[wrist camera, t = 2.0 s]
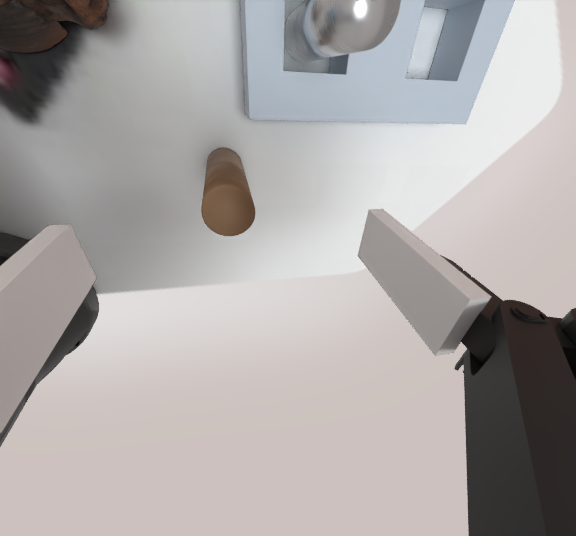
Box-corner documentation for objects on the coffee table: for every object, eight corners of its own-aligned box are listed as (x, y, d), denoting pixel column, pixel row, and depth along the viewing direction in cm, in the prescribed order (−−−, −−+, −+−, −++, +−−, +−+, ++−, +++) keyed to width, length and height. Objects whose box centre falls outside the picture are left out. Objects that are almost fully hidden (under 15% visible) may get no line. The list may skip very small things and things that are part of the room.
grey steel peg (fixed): (283, 60, 19) (329, 48, 11) (284, 3, 17) (340, -58, 10) (321, 63, 20) (390, 53, 12) (326, 8, 18) (410, -46, 10)
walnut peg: (209, 183, 23) (205, 237, 15) (204, 147, 21) (197, 187, 14) (243, 182, 24) (256, 234, 16) (241, 147, 22) (254, 186, 14)
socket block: (245, 113, 21) (249, 119, 18) (235, -88, 15) (239, -127, 12) (437, 118, 24) (465, 124, 21) (491, -42, 18) (539, -64, 16)
